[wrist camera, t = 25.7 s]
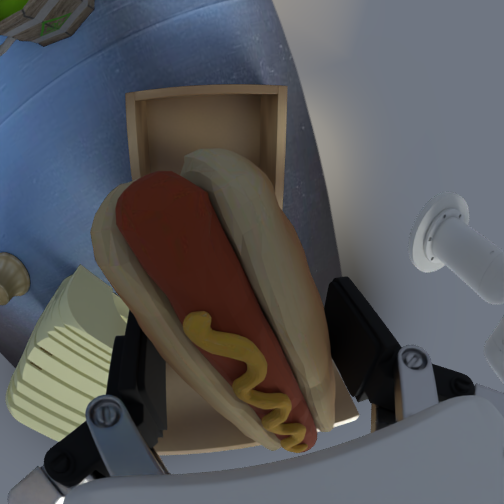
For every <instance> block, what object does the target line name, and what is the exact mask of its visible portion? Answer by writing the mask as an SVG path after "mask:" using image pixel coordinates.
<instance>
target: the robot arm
mask: <svg viewBox="0 0 504 504" xmlns="http://www.w3.org/2000/svg"><path fill="white" fill-rule="evenodd" d="M423 250H424V255H425V257H426V258H427V259H428V260H429V261H430V262H432V263H440V262H442V263H444V264H445V265H446V266H447V267H448V268H449V269H450V270H452V271H453V272H454V273H455V274H456V275H457V276H458V277H459V278H461V279H462V280H463V281H464V282H465V283H466V284H467V285H468V286H469V287H470V288H471V289H472V290H474V291H475V292H476V293H477V294H478V295H479V296H480V297H481V298H482V299H483V300H484V301H486V302H487V303H490V304H504V251H503V250H502V249H501V248H499V247H498V246H496V245H495V244H494V243H493V242H491V241H490V240H488V239H487V238H486V237H484V236H483V235H481V234H480V233H479V232H477V231H476V230H474V229H473V228H471V227H470V226H468V225H467V224H465V223H464V217H463V215H462V213H461V212H460V211H459V210H457V209H455V208H447V209H445V210H443V211H442V212H440V213H439V214H438V215H437V216H436V217H435V218H434V220H433V221H432V222H431V224H430V226H429V228H428V230H427V232H426V235H425V238H424V245H423ZM324 311H325V316H326V321H327V326H328V331H329V339H330V346H331V357H332V359H333V361H334V363H335V365H336V367H337V369H338V371H339V373H340V375H341V377H342V379H343V381H344V383H345V385H346V386H347V389H348V391H349V393H350V394H351V395H352V396H353V397H354V396H355V397H356V399H357V401H358V402H360V401H363V400H366V399H369V401H370V403H372V409H371V410H372V411H371V433H370V434H367V435H365V436H362V437H359V438H357V439H354V440H351V441H348V442H345V443H342V444H339V445H337V446H333V447H330V448H327V449H323V450H320V451H317V452H313V453H309V454H306V455H302V456H298V457H294V458H290V459H286V460H281V461H276V462H272V463H266V464H261V465H256V466H250V467H244V468H237V469H230V470H222V471H213V472H202V473H189V474H172V475H171V474H170V472H169V470H168V469H167V467H166V466H165V465H164V463H163V461H162V460H161V458H160V457H159V455H158V453H157V452H156V450H155V449H154V446H155V445H156V444H157V443H158V438H163V430H167V405H166V361H165V360H164V359H163V358H162V357H161V355H160V354H159V352H158V351H157V349H156V348H155V346H154V345H153V343H152V342H151V341H150V340H149V338H148V337H147V336H146V335H145V333H144V332H143V331H142V329H141V327H140V326H139V324H138V322H137V320H136V318H135V316H134V314H133V313H132V312H131V311H130V309H129V314H128V319H127V325H126V331H125V335H122V336H116V337H115V340H114V345H113V350H112V356H111V362H110V368H109V375H108V382H107V389H106V395H101V396H98V397H96V398H94V399H93V400H92V401H91V402H90V403H89V404H88V406H87V408H86V412H85V417H86V421H85V422H84V423H82V424H81V425H80V426H79V427H77V428H76V429H75V430H74V431H72V432H71V433H70V434H68V435H67V436H66V437H65V438H63V439H62V440H61V441H59V442H58V443H57V444H56V445H54V446H53V447H52V448H50V450H49V451H48V452H47V453H46V455H45V458H44V465H43V466H42V467H39V466H37V467H36V468H35V469H34V470H33V471H32V472H30V473H29V474H28V475H27V476H26V477H25V478H24V479H23V480H21V481H20V482H19V483H18V484H17V485H16V486H14V487H13V488H12V489H11V490H10V492H9V493H8V504H504V393H502V392H499V391H496V390H493V389H491V388H487V387H485V386H482V385H479V384H475V386H474V384H473V382H472V380H471V379H470V378H469V377H468V376H467V375H465V374H462V373H459V372H456V371H453V370H450V369H447V368H444V367H440V366H437V365H434V364H432V363H431V359H430V356H429V354H428V353H427V352H426V351H425V350H424V349H423V348H421V347H419V346H415V345H406V346H404V347H401V346H400V345H399V343H398V342H397V340H396V339H395V338H394V336H393V335H392V333H391V332H390V331H389V329H388V328H387V327H386V325H385V324H384V323H383V321H382V320H381V319H380V317H379V316H378V314H377V313H376V312H375V311H374V310H373V308H372V307H371V305H370V304H369V303H368V301H367V300H366V299H365V298H364V296H363V295H362V294H361V292H360V291H359V290H358V289H357V287H356V286H355V285H354V283H353V282H352V281H351V280H350V279H349V278H348V277H339V278H334V279H333V281H332V282H331V283H330V284H329V287H328V292H327V297H326V302H325V307H324ZM484 355H485V358H486V360H487V362H488V364H489V365H490V367H491V368H492V369H493V371H494V372H495V373H496V375H497V376H498V377H499V379H500V380H501V381H502V383H503V384H504V316H503V317H502V319H501V320H500V322H499V323H498V325H497V326H496V327H495V329H494V330H493V332H492V333H491V335H490V336H489V338H488V339H487V341H486V343H485V346H484Z"/></svg>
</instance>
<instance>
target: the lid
mask: <svg viewBox="0 0 504 504" xmlns="http://www.w3.org/2000/svg"><path fill="white" fill-rule="evenodd" d="M332 364H333V370H334V377H335V403H334V405H335V423H334V427H336V426H339V425H342V424H345V423H348V422H351V421H354V420H356V419H357V418H358V417H359V413H358V411H357V409H356V407H355V405H354V403H353V400H352V398H351V396H350V394H349V392H348V390H347V388H346V386H345V384H344V382H343V380H342V378H341V376H340V374H339V372H338V370H337V368H336V366H335V364H334V362H333V360H332ZM166 405H167V430H163V438H158V443H157V444H156V445H155V446H154V449H155V450H156V452H157V453H158V455H179V454H180V455H181V454H196V453H207V452H217V451H225V450H232V449H240V448H247V447H252V446H258V445H261V444H259V443H257V442H256V441H254V440H253V439H251V438H249V437H247V436H245V435H244V434H243V433H242V432H241V431H240V430H239V429H238V428H237V427H236V426H235V425H234V424H233V423H232V422H230V421H229V420H228V419H226V418H225V417H224V416H222V415H221V414H220V413H218V412H217V411H216V410H215V409H214V408H213V407H212V406H211V405H209V404H208V403H207V402H206V401H205V400H204V399H203V398H202V397H201V396H200V395H199V394H198V393H197V392H196V391H195V390H193V389H192V388H191V387H190V386H189V385H188V384H187V383H186V382H185V381H184V380H183V379H182V378H181V377H180V376H179V375H178V374H177V373H176V372H175V371H174V370H173V369H172V368H171V367H170V366H169V364H168V363H167V362H166ZM316 429H317V432H319V431H320V430H319V429H318V428H316Z"/></svg>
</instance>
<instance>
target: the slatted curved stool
mask: <svg viewBox="0 0 504 504" xmlns="http://www.w3.org/2000/svg"><path fill="white" fill-rule="evenodd" d="M128 314H129V308H128V307H127V306H126V304H125V303H124V302H123V300H122V299H121V298H120V297H118V296H117V295H116V294H114V293H113V292H112V288H111V287H110V286H109V285H107V284H106V283H104V282H103V281H102V280H100V279H99V278H98V277H96V276H95V275H94V274H92V273H91V272H90V271H88V270H87V269H86V268H85V267H83V266H82V265H81V264H80V265H79V267H78V268H77V270H76V271H75V272H74V274H73V275H71V276H69V277H67V278H65V279H64V280H63V281H62V283H61V285H60V286H59V288H58V289H57V291H56V292H55V294H54V295H53V297H52V298H51V300H50V302H49V303H48V305H47V306H46V308H45V310H44V312H43V313H42V315H41V316H40V318H39V320H38V321H37V323H36V326H35V328H34V330H33V332H32V334H31V336H30V339H29V341H28V343H27V345H26V348H25V350H24V353H23V355H22V357H21V359H20V361H19V363H18V366H17V368H16V369H15V371H14V374H13V375H12V377H11V380H10V383H9V386H8V389H7V392H6V405H7V408H8V410H9V412H10V413H11V415H12V416H13V417H14V418H15V419H16V420H17V421H19V422H21V423H22V424H24V425H26V426H28V427H30V428H31V429H33V430H35V431H37V432H40V433H41V434H43V435H45V436H47V437H49V438H51V439H54V440H56V441H58V442H59V441H61V440H62V439H63V438H65V437H66V436H67V435H68V434H70V433H71V432H72V431H74V430H75V429H76V428H77V427H79V426H80V425H81V424H82V423H84V422H85V421H86V417H85V412H86V408H87V406H88V404H89V403H90V402H91V401H92V400H93V399H94V398H96V397H98V396H101V395H106V389H107V382H108V375H109V368H110V362H111V356H112V350H113V345H114V340H115V337H116V336H122V335H125V331H126V325H127V319H128Z"/></svg>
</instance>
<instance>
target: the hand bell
mask: <svg viewBox="0 0 504 504" xmlns="http://www.w3.org/2000/svg"><path fill="white" fill-rule="evenodd" d="M29 287H30V278H29V274H28V272H27V270H26V268H25V266H24V265H23V264H22V262H21V261H20V260H19V259H18V258H16V257H15V256H13V255H12V254H9V253H5V252H3V253H0V305H6V304H7V303H8V302H9V301H10V300H11V299H12V298H13V297H14V296H21V295H24V294H25V293H26V292H27V291H28V290H29Z"/></svg>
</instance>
